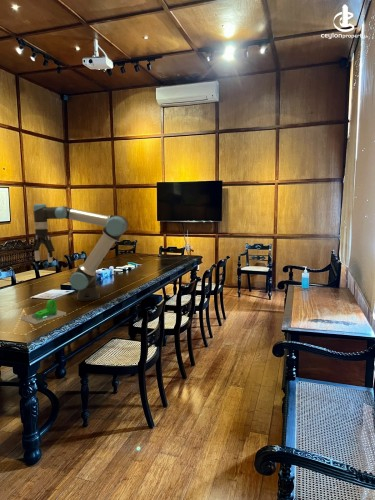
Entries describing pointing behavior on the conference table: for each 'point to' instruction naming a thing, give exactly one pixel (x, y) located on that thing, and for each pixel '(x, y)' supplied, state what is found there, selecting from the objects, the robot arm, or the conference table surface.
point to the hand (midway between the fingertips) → (44, 261)
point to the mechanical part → (49, 309)
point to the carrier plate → (36, 320)
